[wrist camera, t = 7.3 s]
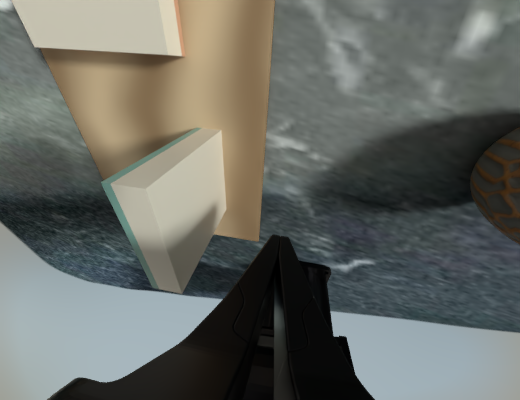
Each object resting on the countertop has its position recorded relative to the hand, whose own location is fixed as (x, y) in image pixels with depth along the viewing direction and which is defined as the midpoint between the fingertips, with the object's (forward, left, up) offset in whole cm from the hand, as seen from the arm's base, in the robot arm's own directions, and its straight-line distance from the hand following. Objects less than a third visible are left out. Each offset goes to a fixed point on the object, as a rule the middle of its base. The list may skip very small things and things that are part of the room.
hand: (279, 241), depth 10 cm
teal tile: (+6, 0, -6) cm, 8 cm away
